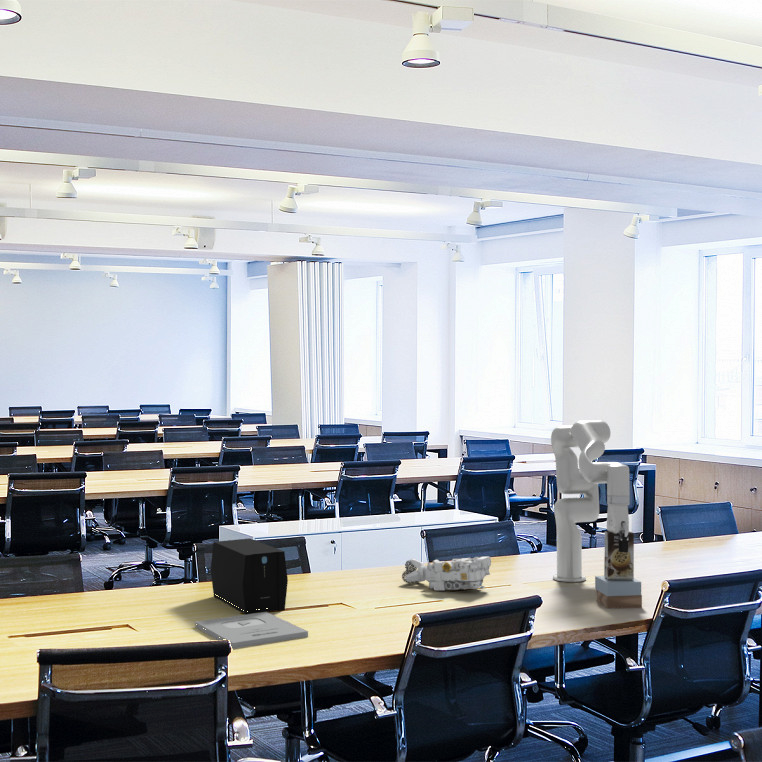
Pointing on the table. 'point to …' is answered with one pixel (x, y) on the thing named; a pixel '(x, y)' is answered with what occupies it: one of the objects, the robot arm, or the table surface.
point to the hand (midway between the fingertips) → (618, 549)
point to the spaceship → (449, 573)
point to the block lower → (619, 601)
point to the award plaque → (251, 629)
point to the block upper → (617, 586)
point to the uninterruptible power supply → (249, 575)
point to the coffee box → (618, 558)
